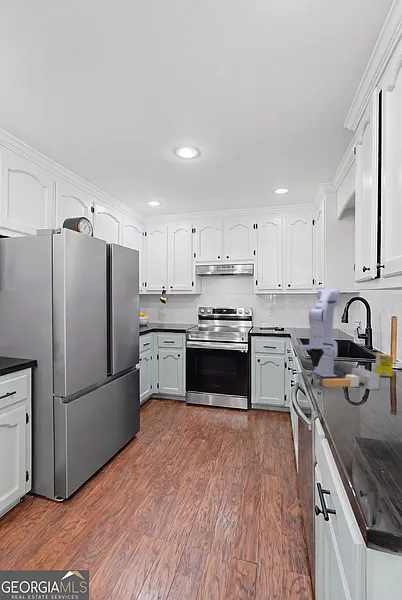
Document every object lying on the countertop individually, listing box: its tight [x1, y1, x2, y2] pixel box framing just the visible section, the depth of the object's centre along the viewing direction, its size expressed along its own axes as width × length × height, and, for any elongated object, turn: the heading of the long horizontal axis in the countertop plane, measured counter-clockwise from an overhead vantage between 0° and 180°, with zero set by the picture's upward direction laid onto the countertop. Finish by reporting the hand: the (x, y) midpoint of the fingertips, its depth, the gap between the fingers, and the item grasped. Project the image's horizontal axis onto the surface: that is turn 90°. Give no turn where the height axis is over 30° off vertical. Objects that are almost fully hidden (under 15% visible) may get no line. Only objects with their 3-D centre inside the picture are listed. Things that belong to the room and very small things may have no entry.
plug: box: [321, 374, 360, 388], centre depth 139 cm, size 4×17×4 cm, turn 100°
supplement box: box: [374, 353, 394, 379], centre depth 158 cm, size 6×6×11 cm
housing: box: [351, 367, 381, 390], centre depth 141 cm, size 12×5×6 cm, turn 10°
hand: (315, 366), depth 136 cm, fingers closed
